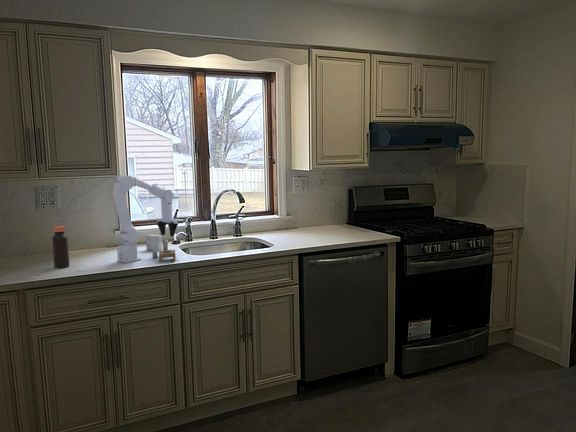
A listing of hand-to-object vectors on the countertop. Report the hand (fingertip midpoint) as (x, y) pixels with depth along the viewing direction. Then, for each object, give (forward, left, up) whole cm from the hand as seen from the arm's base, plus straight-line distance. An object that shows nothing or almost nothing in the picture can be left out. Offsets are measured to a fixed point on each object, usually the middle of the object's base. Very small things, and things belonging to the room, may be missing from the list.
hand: (167, 235), depth 261 cm
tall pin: (-4, -2, -10) cm, 11 cm away
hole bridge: (-12, -13, -10) cm, 20 cm away
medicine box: (+2, +15, -10) cm, 18 cm away
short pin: (-12, -3, -10) cm, 16 cm away
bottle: (-51, +19, -10) cm, 55 cm away
